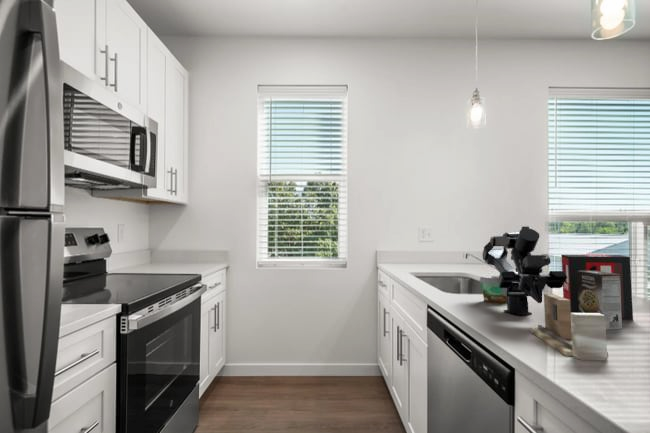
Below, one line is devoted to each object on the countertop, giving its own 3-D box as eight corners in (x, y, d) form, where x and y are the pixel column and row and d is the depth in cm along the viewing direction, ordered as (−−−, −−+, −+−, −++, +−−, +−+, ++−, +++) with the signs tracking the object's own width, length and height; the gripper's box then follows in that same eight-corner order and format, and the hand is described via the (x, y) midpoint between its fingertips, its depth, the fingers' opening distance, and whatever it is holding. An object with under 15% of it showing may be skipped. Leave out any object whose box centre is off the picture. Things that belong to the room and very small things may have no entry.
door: (544, 329, 102) (542, 293, 102) (555, 329, 101) (553, 293, 102) (560, 339, 93) (558, 300, 93) (571, 339, 92) (570, 300, 93)
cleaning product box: (571, 317, 119) (568, 256, 120) (564, 311, 127) (561, 254, 128) (633, 320, 113) (629, 256, 114) (620, 314, 122) (617, 254, 122)
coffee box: (578, 322, 113) (575, 270, 113) (597, 321, 113) (594, 269, 114) (603, 330, 104) (600, 274, 104) (623, 329, 104) (620, 273, 105)
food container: (484, 304, 142) (483, 278, 142) (480, 300, 148) (479, 276, 148) (517, 304, 140) (516, 278, 140) (512, 301, 146) (511, 276, 146)
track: (531, 331, 104) (529, 296, 104) (565, 332, 102) (563, 297, 103) (571, 359, 82) (569, 315, 82) (614, 360, 81) (612, 315, 81)
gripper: (499, 245, 115) (513, 286, 103) (562, 244, 112) (584, 286, 101) (492, 267, 122) (504, 307, 111) (551, 267, 119) (570, 308, 108)
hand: (540, 302), depth 107 cm, fingers closed
